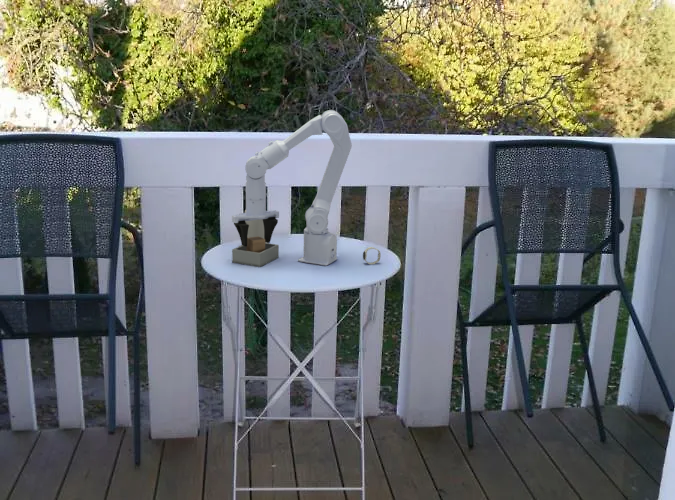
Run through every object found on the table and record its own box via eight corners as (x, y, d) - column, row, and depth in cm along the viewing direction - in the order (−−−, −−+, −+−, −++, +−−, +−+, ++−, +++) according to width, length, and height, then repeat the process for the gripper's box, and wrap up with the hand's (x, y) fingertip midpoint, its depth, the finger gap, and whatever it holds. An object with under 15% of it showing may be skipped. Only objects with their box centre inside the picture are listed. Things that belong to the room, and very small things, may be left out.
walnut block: (265, 258, 214) (265, 239, 213) (253, 260, 212) (253, 240, 211) (258, 255, 218) (258, 236, 216) (246, 257, 215) (246, 237, 214)
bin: (278, 257, 218) (278, 244, 217) (260, 267, 208) (260, 253, 207) (251, 253, 222) (251, 240, 221) (232, 262, 212) (232, 249, 211)
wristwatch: (362, 262, 216) (362, 246, 215) (378, 262, 217) (378, 246, 216) (364, 265, 213) (365, 249, 212) (381, 264, 214) (381, 248, 213)
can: (263, 251, 225) (263, 213, 222) (239, 249, 226) (239, 211, 223) (269, 245, 232) (269, 208, 229) (246, 243, 233) (246, 206, 230)
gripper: (239, 203, 203) (240, 250, 207) (284, 198, 211) (284, 243, 215) (228, 198, 209) (229, 244, 212) (272, 194, 217) (272, 238, 220)
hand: (256, 243), depth 214 cm, fingers open, 7 cm apart
